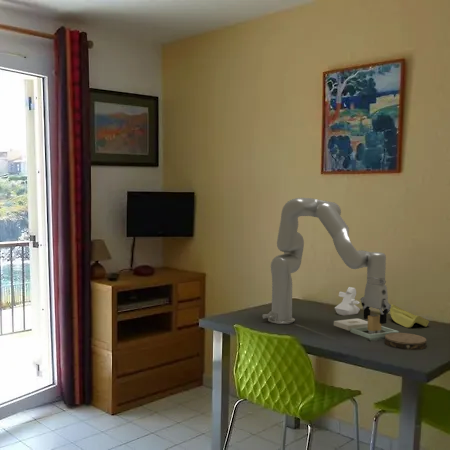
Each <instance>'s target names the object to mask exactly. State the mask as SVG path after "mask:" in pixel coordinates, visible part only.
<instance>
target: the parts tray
mask: <svg viewBox="0 0 450 450" xmlns="http://www.w3.org/2000/svg"><path fill="white" fill-rule="evenodd" d="M349 331H350V332H349V333H352V334H355V335H358V336H361V337H364V338H367V341H369V342H372V341H380V340H385V335H386V334H389V333H400V331H399V330H396V329H392V328H390V327H386V326H384V325H382V326H381V330H380V331H381V332H380V333H375V334H369V333H368V332H367V331H369V330H368V326H367V327H359V328H351V330H349Z"/></svg>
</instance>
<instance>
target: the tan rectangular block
mask: <svg viewBox="0 0 450 450" xmlns="http://www.w3.org/2000/svg"><path fill="white" fill-rule="evenodd" d="M367 321H368V330H369V331H368V332H367V333H368V334H376V333H381V331H382V330H381V326H383V324H380V314H370V316H368V319H367Z"/></svg>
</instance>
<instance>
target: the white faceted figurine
mask: <svg viewBox="0 0 450 450" xmlns="http://www.w3.org/2000/svg"><path fill="white" fill-rule="evenodd" d="M356 296H357V289H356V287H351V286H348V288H347V289H346V291H345V292H344V291H339V293H338V297H339V298H340V297H341V298H342V301H341V302H339V304H337V305H336V306H335V307H334V310H335V312H336V314H337V315H340V316H351V315H357V314H359V312H360V310H361V309H360V307H359V306H357V305H359V304H361V303H360V302H361V301H359V300H356V299H355V298H356Z"/></svg>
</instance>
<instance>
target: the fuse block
mask: <svg viewBox="0 0 450 450" xmlns="http://www.w3.org/2000/svg"><path fill="white" fill-rule="evenodd" d="M367 326H368V320H366V319H361V318H359V317H358V318H350V319H341V320H340V319H339V320H333V327H337V328H339V329H343V330H345V331H350V330H351V328H359V327H367Z"/></svg>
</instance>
